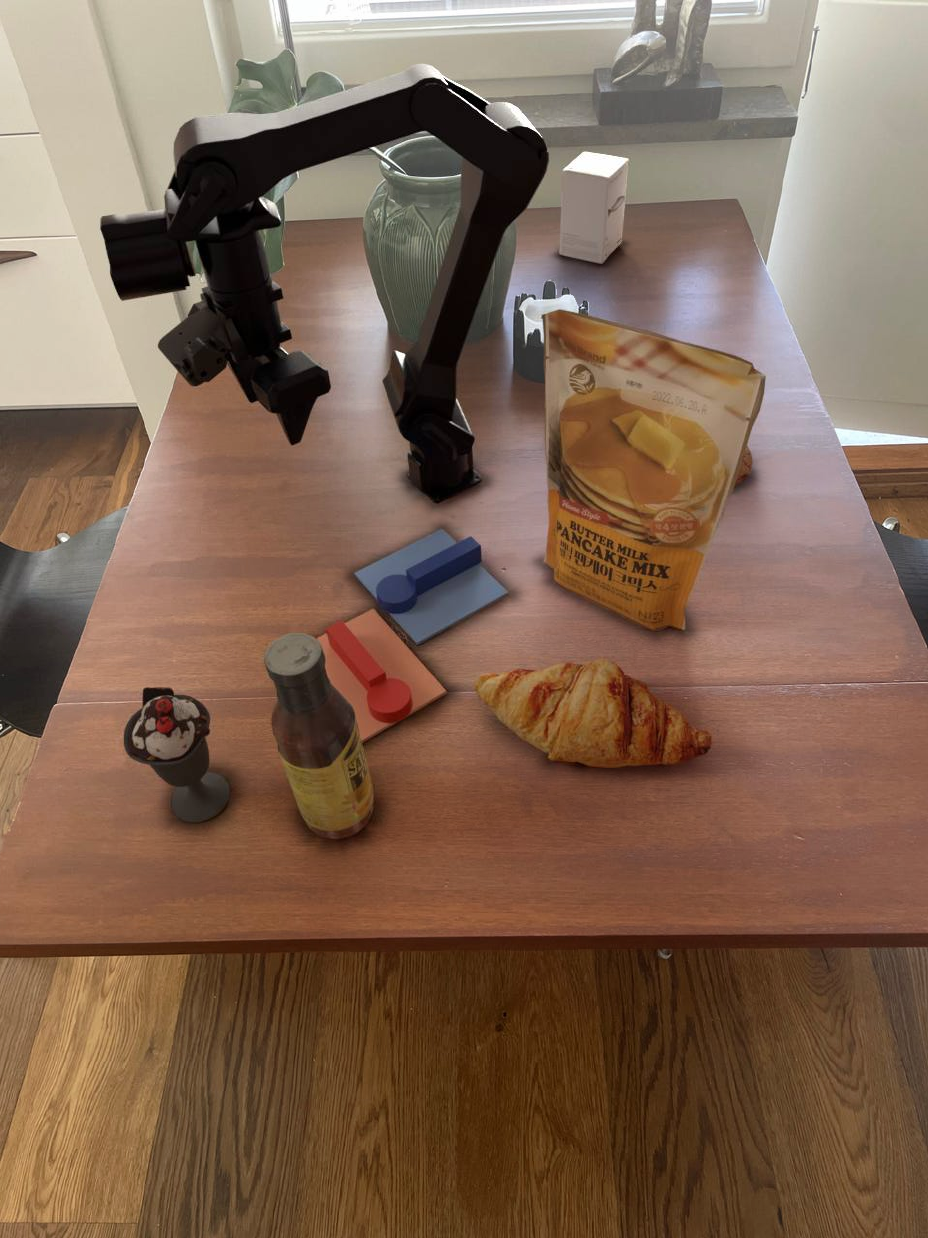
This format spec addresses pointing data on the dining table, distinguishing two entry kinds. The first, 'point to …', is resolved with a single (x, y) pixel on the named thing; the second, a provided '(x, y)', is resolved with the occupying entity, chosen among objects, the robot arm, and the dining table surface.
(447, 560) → the blue spoon
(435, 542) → the blue mat
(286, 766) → the sauce bottle
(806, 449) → the dining table surface
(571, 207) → the white packaging box
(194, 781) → the sundae
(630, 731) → the croissant
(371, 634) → the red mat
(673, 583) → the pancake mix bag
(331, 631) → the red spoon
